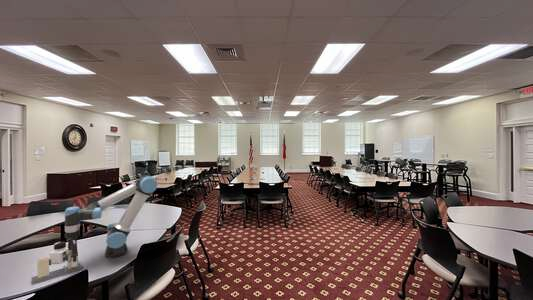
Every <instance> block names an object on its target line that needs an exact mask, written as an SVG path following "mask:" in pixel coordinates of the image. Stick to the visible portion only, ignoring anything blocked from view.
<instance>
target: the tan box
mask: <svg viewBox="0 0 533 300" xmlns="http://www.w3.org/2000/svg"><path fill="white" fill-rule="evenodd" d="M77 252H78V253H79V251H78V250H77ZM74 255H75V254H74ZM71 256H72V252H68V253H67V255H65V259H66V261H67V262H66V265H67V266H66V267H67V268H68V270H69V269H73V268H76V267H78V264H79V255H78V256H77V266H75V267H72V258H71Z"/></svg>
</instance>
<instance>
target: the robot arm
mask: <svg viewBox="0 0 533 300" xmlns="http://www.w3.org/2000/svg"><path fill="white" fill-rule="evenodd" d="M157 188H158V181H157V179H156V178H155V177H154V176H152V175H148V174H147V175H146V174H145V175H143V176H141V177H139V178H138V179H136V180H134V181H133V182H132V183H131V184H129V185H127V186H125V187H123V188H121V189H119V190H117V191H116V192H113V193H111V194H109V195H108V196H106V197H104V198H101V199H100V200H98V201H96V202H93V203H90V204H89V205H87V207H86V208H83V209H81V208H80V207H79V206H70V207H67V208H65V210H64V232H65V233H64V238H65V239H67V240H68V241H67V248H68V252H72V256H71V258H72V267H75V266H77V256H78V257H79V251H78V239H77V238H78V237H80V235H81V230H80V229H81V228H80V226H81V222H82V221H90V220H97V219H101V218H102V211H104V210H106V209H107V208H110V207H111V206H113V205H115V204H117V203H119V202H121V201H122V200H124V199H127V198H129V197H130V196H133V195H134V196H133V197H132V199H131V201H130V202H129V204H128V206H127V207H126V209H125V211H124V213H123V214H122V216H121V217H120V219H119V221H118V222H115V223H109V224H107V228H106V229H107V231H106V232H107V234H106V235H107V236H106V244H107V245H106V248H105V251H104V258H109V259H110V258H111V259H113V258H119V257H122V256H124V255H126V254H127V253H128V251H129V247H128V245H127V239H128V238H127V237H128V236H129V234H130V233H131V227H132V225H133V223H134V222H135V219H136V218H137V216H138V214H139V213H140V211H141V209H142V208H143V206H144V204H145V202H146V201H147V200H148V198H150V197H151V196H152V195H153V193H154V192H155V191H156V190H157ZM77 251H78V252H77ZM74 254H75V255H74Z"/></svg>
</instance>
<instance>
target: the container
mask: <svg viewBox="0 0 533 300" xmlns="http://www.w3.org/2000/svg"><path fill="white" fill-rule="evenodd" d="M67 253H68V247H67V242H66V241H58V242H56V243H54V244H53V250H52V251H51V252H49V259H51V264H62V263H64V262H65V261H66V259H65V255H67Z"/></svg>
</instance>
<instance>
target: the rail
mask: <svg viewBox="0 0 533 300" xmlns="http://www.w3.org/2000/svg"><path fill="white" fill-rule="evenodd" d="M36 263H37V269H36V271H37V274H36V275H35V276H32V277H31V285H35V283H36V284H39V283H42V282H45V281H48V280H51V279H55V278H58V277H62V276H65V275H68V274H72V273H74V272H77V271H81V270H84V265H83V263H81V261H78V267H76V268H73V269H69V270H68V268H67V266H66V265H64V266H63V267H62V268H59V269H55V270H53V271H50V266H51V265H52V263H51V259H50V257H44V258H41V259H37V261H36Z"/></svg>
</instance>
